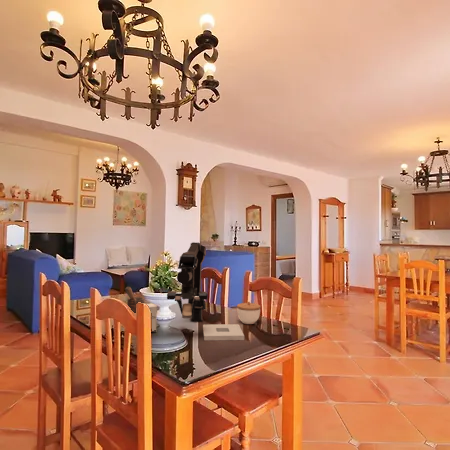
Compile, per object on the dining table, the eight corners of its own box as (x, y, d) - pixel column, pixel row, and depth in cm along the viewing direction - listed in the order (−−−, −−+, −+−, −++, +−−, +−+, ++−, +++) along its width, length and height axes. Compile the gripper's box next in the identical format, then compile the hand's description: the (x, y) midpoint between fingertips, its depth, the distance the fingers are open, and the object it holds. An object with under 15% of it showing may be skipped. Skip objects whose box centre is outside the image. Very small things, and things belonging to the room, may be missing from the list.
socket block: (202, 328, 162) (203, 324, 162) (238, 328, 164) (238, 324, 164) (204, 340, 144) (204, 335, 144) (244, 340, 146) (244, 335, 146)
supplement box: (140, 334, 151) (141, 307, 151) (137, 330, 157) (138, 304, 157) (156, 332, 154) (157, 306, 154) (152, 328, 160) (153, 302, 161)
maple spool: (182, 316, 155) (182, 303, 155) (191, 316, 155) (192, 303, 155) (181, 318, 150) (182, 305, 150) (191, 318, 151) (192, 305, 151)
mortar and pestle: (138, 328, 161) (139, 287, 161) (121, 327, 161) (122, 287, 162) (145, 321, 172) (147, 284, 173) (130, 321, 173) (131, 283, 173)
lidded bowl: (248, 327, 167) (249, 305, 167) (232, 321, 176) (232, 301, 176) (265, 323, 175) (265, 302, 175) (248, 318, 184) (248, 298, 185)
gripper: (166, 283, 144) (165, 318, 144) (208, 283, 146) (207, 318, 146) (168, 279, 155) (167, 312, 155) (207, 279, 157) (206, 312, 157)
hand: (187, 313), depth 153 cm, fingers closed on maple spool, 4 cm apart
